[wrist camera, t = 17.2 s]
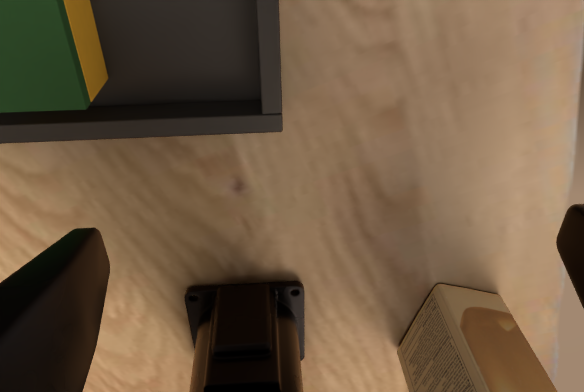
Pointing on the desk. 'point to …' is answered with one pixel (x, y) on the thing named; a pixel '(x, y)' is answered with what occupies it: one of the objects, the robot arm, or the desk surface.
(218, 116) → the tray
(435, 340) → the cosmetic box
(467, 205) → the desk surface
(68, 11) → the sponge
